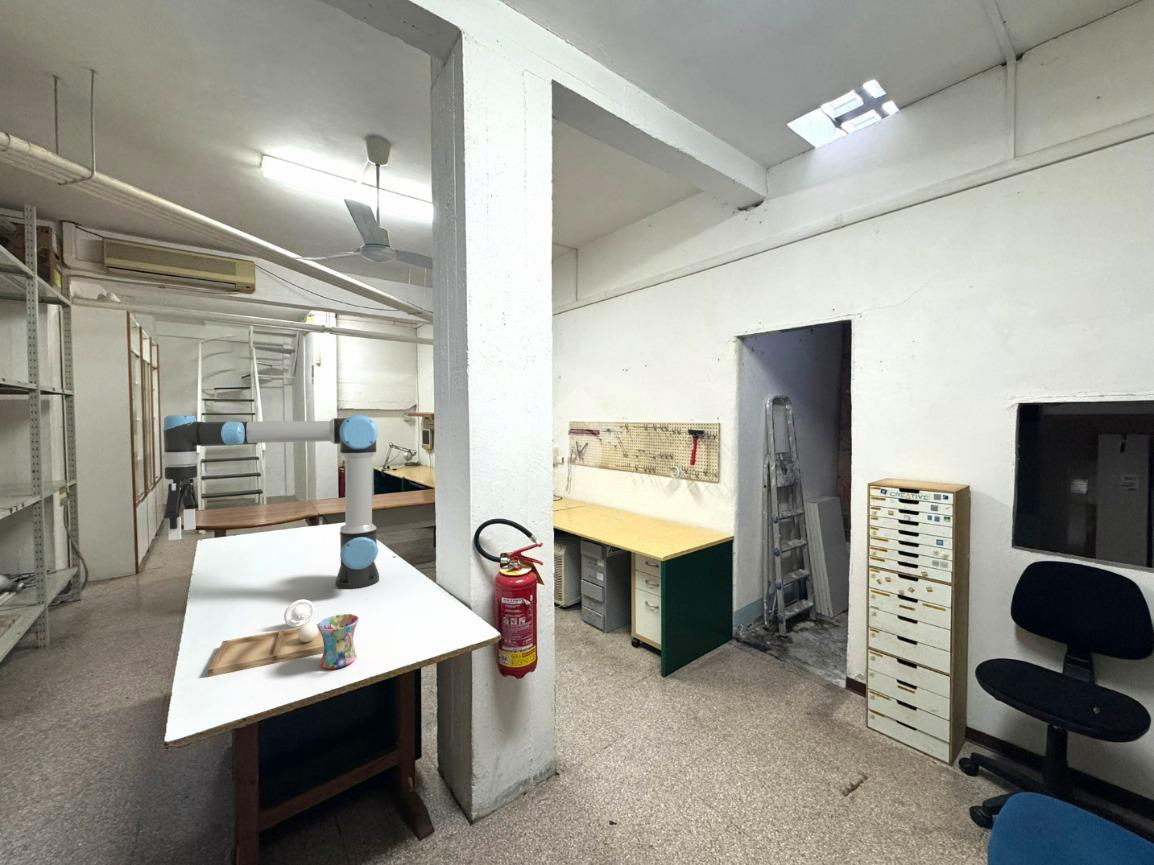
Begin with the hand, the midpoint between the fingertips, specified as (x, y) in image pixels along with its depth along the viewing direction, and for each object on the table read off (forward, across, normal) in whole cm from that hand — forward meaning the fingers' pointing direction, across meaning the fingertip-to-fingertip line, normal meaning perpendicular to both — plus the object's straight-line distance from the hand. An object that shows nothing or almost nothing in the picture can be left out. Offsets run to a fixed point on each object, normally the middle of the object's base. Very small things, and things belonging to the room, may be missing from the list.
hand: (182, 534), depth 139 cm
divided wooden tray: (+27, +34, +29) cm, 52 cm away
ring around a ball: (+27, +21, +32) cm, 47 cm away
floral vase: (+27, +49, +44) cm, 72 cm away
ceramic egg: (+26, +34, +36) cm, 56 cm away
